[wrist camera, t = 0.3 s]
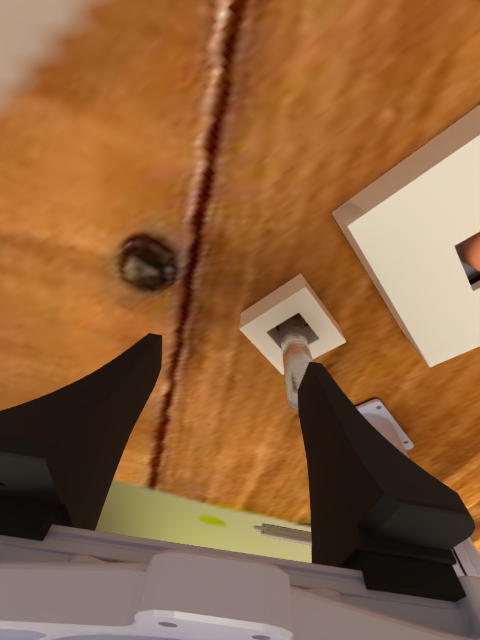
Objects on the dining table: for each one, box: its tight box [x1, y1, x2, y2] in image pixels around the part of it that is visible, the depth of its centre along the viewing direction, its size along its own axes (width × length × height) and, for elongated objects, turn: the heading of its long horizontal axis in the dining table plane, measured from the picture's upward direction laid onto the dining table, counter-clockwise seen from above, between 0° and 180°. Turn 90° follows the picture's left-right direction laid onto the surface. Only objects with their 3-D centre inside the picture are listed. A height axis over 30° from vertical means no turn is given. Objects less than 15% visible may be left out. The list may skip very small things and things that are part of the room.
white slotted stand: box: [331, 105, 480, 367], centre depth 17 cm, size 13×12×4 cm
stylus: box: [279, 313, 313, 411], centre depth 19 cm, size 2×2×9 cm
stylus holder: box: [239, 273, 346, 375], centre depth 22 cm, size 6×6×2 cm
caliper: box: [254, 523, 312, 545], centre depth 41 cm, size 20×1×6 cm, turn 105°
